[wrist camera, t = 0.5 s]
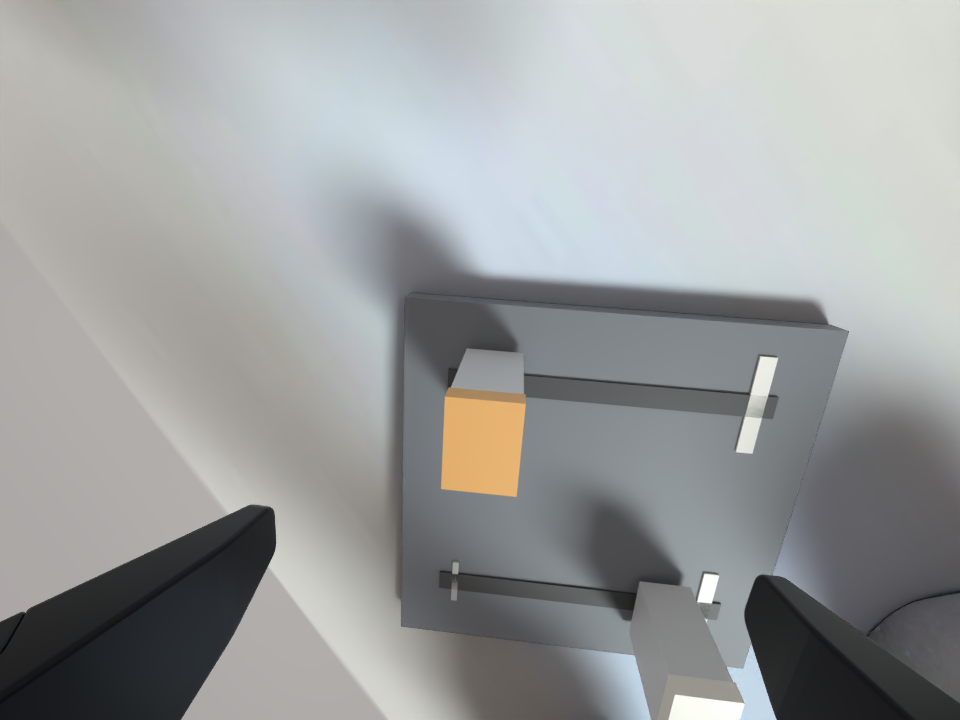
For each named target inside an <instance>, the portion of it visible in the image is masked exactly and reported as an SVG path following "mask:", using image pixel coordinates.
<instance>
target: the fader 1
mask: <svg viewBox="0 0 960 720" xmlns="http://www.w3.org/2000/svg"><path fill="white" fill-rule="evenodd" d="M525 407H526V394H524V353H517V352H505V351H493V350H481V349H469V348H467V349H466V352H465V354H464V357H463V359H462V362H461V364H460V366H459V369H458V371H457V374H456V376H455V379H454V381H453V383H452V386H451V388H450V387H449V388H448V390H447V393H446V395H445V404H444V429H443V454H442V478H441V489H445V490H455V491H464V492H474V493H484V494H493V495H503V496H513V497H517V488H518V478H519V468H520V458H521V448H522V438H523V428H524V418H525Z"/></svg>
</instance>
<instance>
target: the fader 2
mask: <svg viewBox="0 0 960 720" xmlns="http://www.w3.org/2000/svg"><path fill="white" fill-rule="evenodd" d="M629 634H630V638H631V642H632V646H633V650H634V654H635V658H636V662H637V665H638V669H639V673H640V677H641V681H642V685H643V689H644V693H645V697H646V701H647V705H648V708H649V712H650V716H651V720H740V717H741V714H742V711H743V708H744V705H745V703H744V701H743V698H742V696H741V694H740V692H739V690H738V687H737V685H736V683H735V682H733V681H732V679H731V676H730V674H729V672H728V670H727V667H726V665H725V663H724V661H723V659H722V656H721V654H720V652H719V650H718V647H717V645H716V643H715V641H714V639H713V636H712V634H711V632H710V630H709V627H708V625H707V623H706V621H705V619H704V616H703V614H702V612H701V610H700V608H699V605H698V603H697V601H696V599H695V596H694V594H693V592H692V590H691V588H690V587H685V586H676V585H667V584H658V583H650V582H641V581H640V582H639V587H638V591H637V596H636V601H635V606H634V611H633V616H632V620H631V625H630V630H629Z"/></svg>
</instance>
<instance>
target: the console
mask: <svg viewBox="0 0 960 720" xmlns="http://www.w3.org/2000/svg"><path fill="white" fill-rule="evenodd" d="M848 333H849V331H846V330H844V329H841V328H838V327H835V326H832V325H828V324H815V323H802V322H789V321H776V320H763V319H750V318H736V317H723V316H710V315H697V314H684V313H671V312H658V311H645V310H631V309H618V308H605V307H592V306H579V305H566V304H553V303H540V302H526V301H513V300H500V299H487V298H474V297H461V296H448V295H435V294H421V293H410V294H409V295H407V296H406V297H405V321H404V409H403V497H402V585H401V626H402V627H410V628H418V629H426V630H434V631H443V632H451V633H459V634H467V635H475V636H483V637H491V638H499V639H507V640H515V641H524V642H532V643H540V644H548V645H556V646H564V647H572V648H580V649H588V650H596V651H605V652H613V653H621V654H629V655H635V654H634V650H633V646H632V642H631V638H630V634H629V630H630V625H631V620H632V616H633V611H634V606H635V601H636V596H637V591H638V587H639V582H640V581H641V582H650V583H658V584H667V585H676V586H685V587H690V588H691V590H692V592H693V594H694V596H695V599H696V601H697V603H698V605H699V608H700V610H701V612H702V614H703V616H704V619H705V621H706V623H707V625H708V627H709V630H710V632H711V634H712V636H713V639H714V641H715V643H716V645H717V647H718V650H719V652H720V654H721V656H722V659H723V661H724V663H725V665H726V667H734V668H742V669H743V667H744V664H745V661H746V658H747V655H748V651H749V648H750V645H751V640H750V637H749V634H748V631H747V628H746V624H745V619H744V610H745V606H746V603H747V600H748V597H749V595H750V592H751V589H752V586H753V583H754V580H755V578H756V577H757V576H758V575H761V574H765V575H773V572H774V569H775V566H776V562H777V559H778V556H779V553H780V550H781V546H782V543H783V540H784V537H785V534H786V531H787V527H788V524H789V521H790V518H791V515H792V511H793V508H794V505H795V502H796V499H797V496H798V492H799V489H800V486H801V483H802V480H803V476H804V473H805V470H806V467H807V464H808V461H809V457H810V454H811V451H812V448H813V445H814V441H815V438H816V435H817V432H818V429H819V425H820V422H821V419H822V416H823V413H824V410H825V406H826V403H827V400H828V397H829V394H830V390H831V387H832V384H833V381H834V378H835V375H836V371H837V368H838V365H839V362H840V359H841V355H842V352H843V349H844V346H845V343H846V340H847V336H848ZM467 348H469V349H481V350H493V351H505V352H517V353H524V394H526V407H525V418H524V428H523V438H522V448H521V458H520V468H519V478H518V488H517V497H513V496H503V495H493V494H484V493H474V492H464V491H455V490H445V489H441V478H442V454H443V429H444V404H445V395H446V393H447V390H448V388H449V387H450V388H451V386H452V383H453V381H454V379H455V376H456V374H457V371H458V369H459V366H460V364H461V362H462V359H463V357H464V354H465V352H466V349H467Z"/></svg>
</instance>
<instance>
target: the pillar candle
mask: <svg viewBox="0 0 960 720" xmlns="http://www.w3.org/2000/svg"><path fill="white" fill-rule="evenodd" d="M867 637H868V638H870V639H871V640H872V641H874V642H875V643H877V644H878V645H879V646H881V647H882V648H884V649H885V650H886V651H888V652H889V653H891V654H892V655H893V656H895V657H896V658H898V659H899V660H900V661H902V662H903V663H905V664H906V665H907V666H909V667H910V668H912V669H913V670H914V671H916V672H917V673H919V674H920V675H921V676H923V677H924V678H926V679H927V680H928V681H930V682H931V683H933V684H934V685H935V686H937V687H938V688H940V689H941V690H942V691H944V692H945V693H947V694H948V695H949V696H951V697H952V698H954V699H955V700H956V701H958V702H959V703H960V593H956V594H949V595H944V596H939V597H933V598H928V599H923V600H920V601H916V602H913V603H910V604H908V605H907V606H904V607H902V608H901V609H899V610H897V611H895V612H893V613H892V614H891V615H890V616H888V617H887V618H885V619H884V620H883V621H882V622H881V623H880V624H879V625H878V626H877V627H876V628H875V629H874V630H873V631H872V632H871V633H870V634H869V635H868V636H867Z"/></svg>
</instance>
